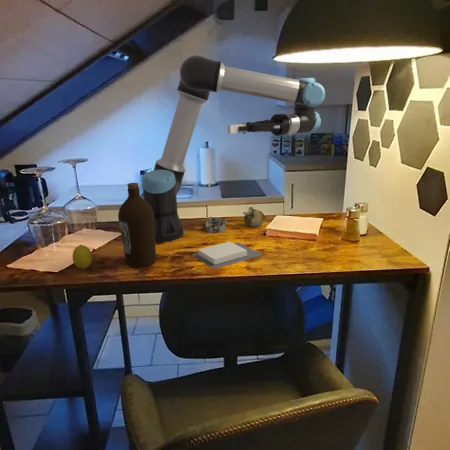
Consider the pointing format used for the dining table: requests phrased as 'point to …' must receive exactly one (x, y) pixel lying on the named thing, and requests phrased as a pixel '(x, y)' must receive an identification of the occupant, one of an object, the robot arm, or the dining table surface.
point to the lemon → (82, 256)
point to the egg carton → (216, 224)
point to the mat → (250, 255)
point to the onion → (253, 217)
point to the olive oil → (137, 229)
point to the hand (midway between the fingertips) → (229, 129)
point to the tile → (222, 252)
